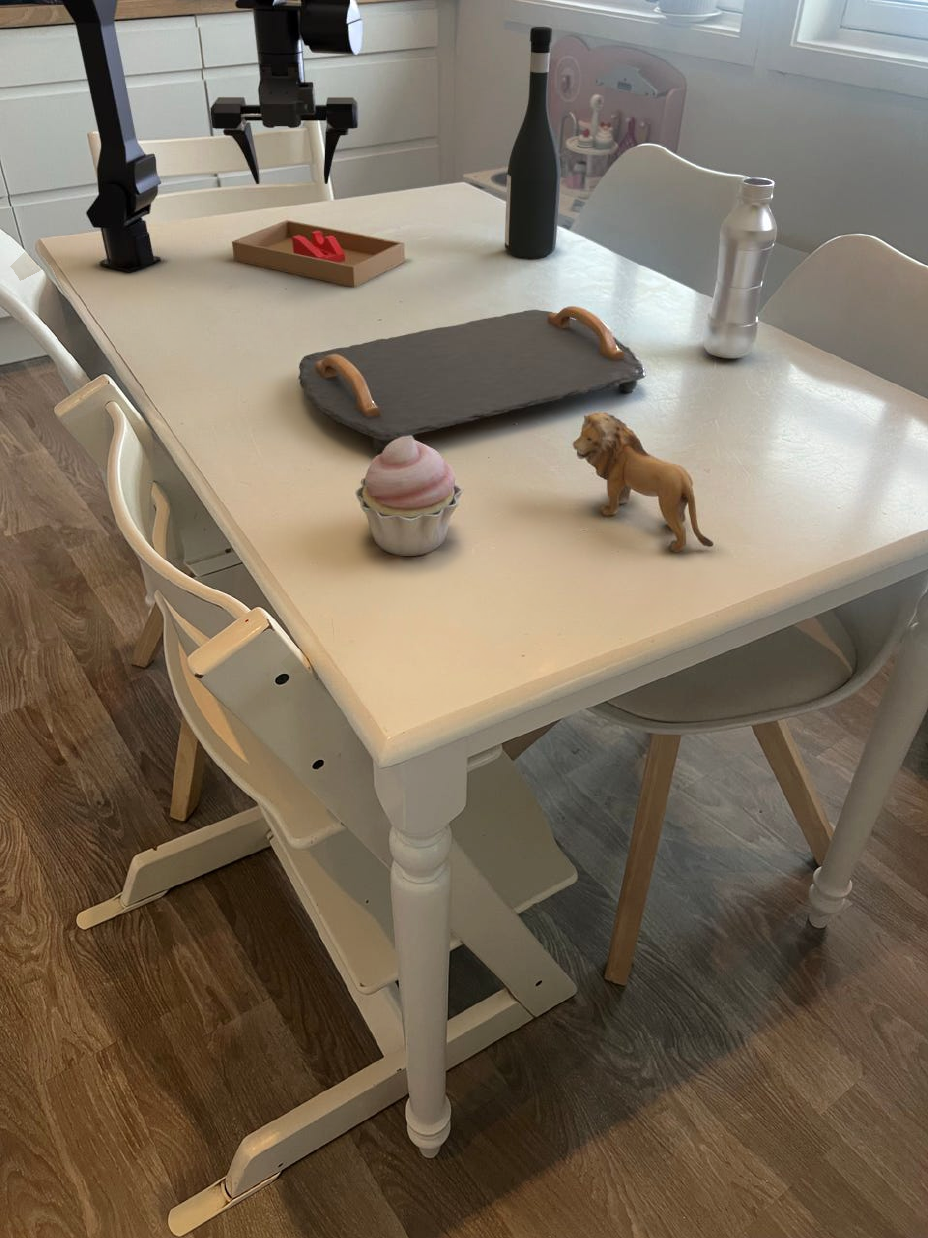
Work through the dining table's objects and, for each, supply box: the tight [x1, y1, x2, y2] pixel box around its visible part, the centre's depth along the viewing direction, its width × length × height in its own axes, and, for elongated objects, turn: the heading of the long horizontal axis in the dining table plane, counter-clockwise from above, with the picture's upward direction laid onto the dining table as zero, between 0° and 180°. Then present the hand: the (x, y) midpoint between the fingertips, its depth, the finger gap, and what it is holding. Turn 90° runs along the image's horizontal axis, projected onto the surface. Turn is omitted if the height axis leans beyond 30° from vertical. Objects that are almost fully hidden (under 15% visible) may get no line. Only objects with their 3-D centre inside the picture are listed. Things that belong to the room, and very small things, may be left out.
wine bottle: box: [504, 26, 562, 259], centre depth 140 cm, size 8×8×30 cm
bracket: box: [292, 231, 345, 263], centre depth 144 cm, size 6×5×3 cm
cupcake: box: [354, 435, 465, 557], centre depth 82 cm, size 9×9×10 cm
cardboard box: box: [231, 219, 406, 288], centre depth 144 cm, size 22×13×3 cm, turn 60°
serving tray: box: [298, 305, 647, 455], centre depth 108 cm, size 39×23×6 cm, turn 119°
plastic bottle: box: [702, 177, 778, 359], centre depth 112 cm, size 6×7×20 cm
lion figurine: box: [572, 411, 714, 553], centre depth 85 cm, size 15×5×9 cm, turn 50°
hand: (292, 183), depth 130 cm, fingers open, 9 cm apart
